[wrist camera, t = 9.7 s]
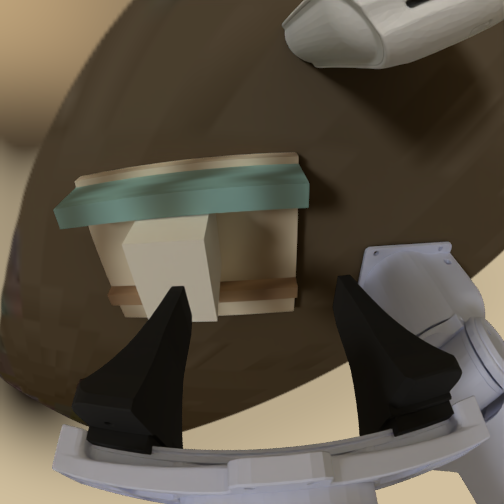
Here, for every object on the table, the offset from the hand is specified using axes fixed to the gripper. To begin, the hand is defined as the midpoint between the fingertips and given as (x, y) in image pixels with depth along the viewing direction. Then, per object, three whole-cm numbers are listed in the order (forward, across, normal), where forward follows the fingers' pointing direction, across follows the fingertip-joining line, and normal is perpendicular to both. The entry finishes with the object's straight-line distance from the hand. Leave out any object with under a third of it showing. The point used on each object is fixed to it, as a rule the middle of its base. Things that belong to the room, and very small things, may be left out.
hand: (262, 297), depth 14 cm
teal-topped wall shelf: (+9, +5, +3) cm, 11 cm away
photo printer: (+10, -7, -14) cm, 18 cm away
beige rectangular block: (+8, +5, +1) cm, 10 cm away
